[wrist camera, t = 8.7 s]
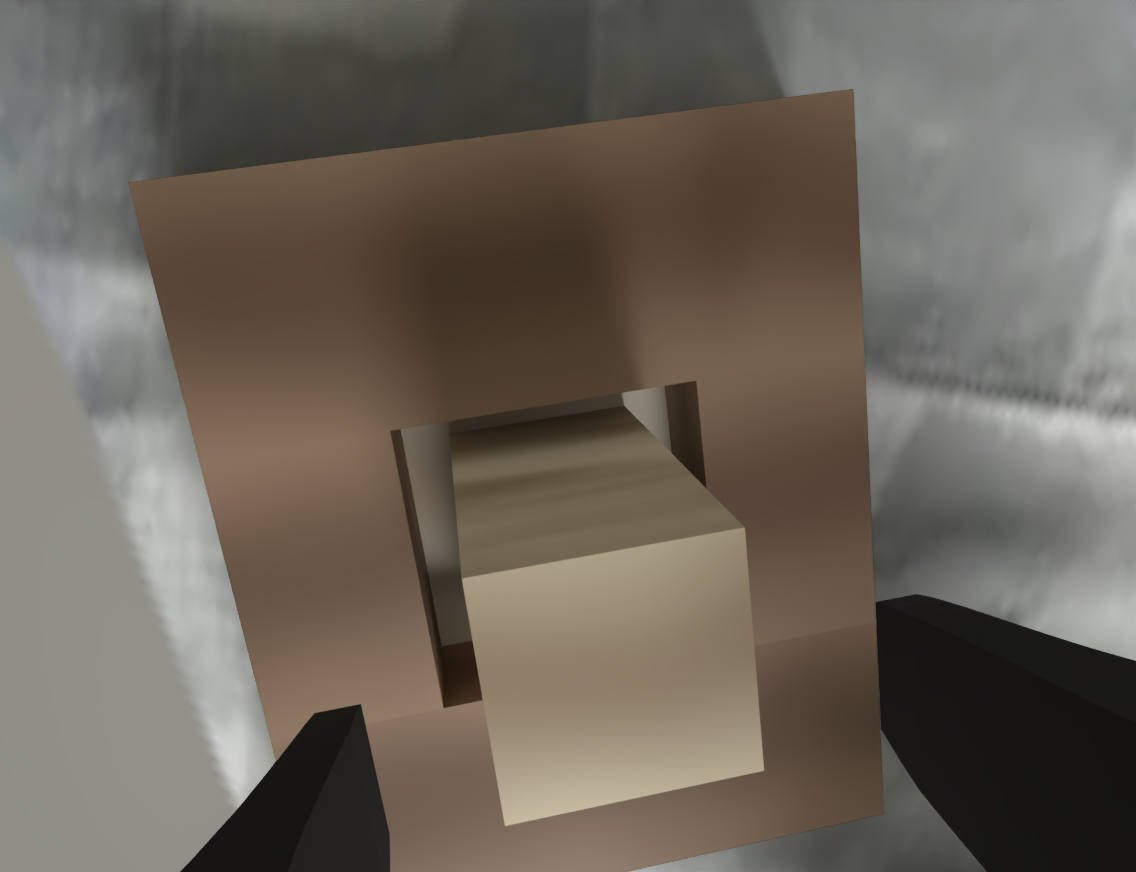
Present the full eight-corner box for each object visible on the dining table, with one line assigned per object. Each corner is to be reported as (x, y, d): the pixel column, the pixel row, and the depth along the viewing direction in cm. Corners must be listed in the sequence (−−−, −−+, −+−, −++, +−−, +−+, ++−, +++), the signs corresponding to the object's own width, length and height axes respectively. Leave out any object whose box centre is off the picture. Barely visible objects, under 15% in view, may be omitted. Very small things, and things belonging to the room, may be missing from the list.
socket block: (828, 739, 24) (883, 813, 21) (336, 845, 22) (322, 941, 19) (790, 106, 19) (853, 89, 16) (176, 186, 18) (128, 182, 15)
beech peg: (642, 566, 21) (764, 771, 13) (476, 597, 21) (505, 826, 13) (624, 405, 20) (744, 527, 12) (449, 434, 20) (461, 578, 12)
